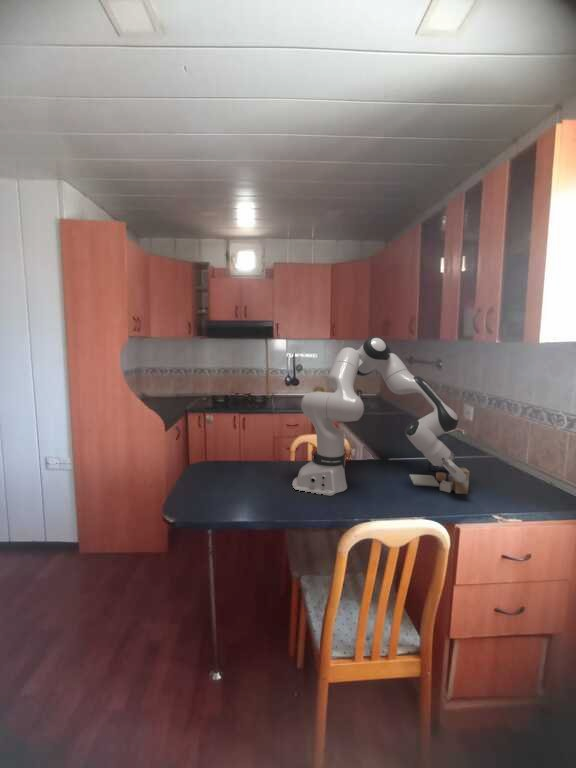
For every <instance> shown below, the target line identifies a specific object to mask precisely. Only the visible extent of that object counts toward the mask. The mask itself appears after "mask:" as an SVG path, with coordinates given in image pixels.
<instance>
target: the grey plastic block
mask: <svg viewBox="0 0 576 768" xmlns="http://www.w3.org/2000/svg"><path fill="white" fill-rule="evenodd" d="M447 481H448V482H452V483H453V476H452V475H451V474H450V473H448V474H447Z"/></svg>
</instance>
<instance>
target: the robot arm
mask: <svg viewBox="0 0 576 768" xmlns="http://www.w3.org/2000/svg"><path fill="white" fill-rule="evenodd" d="M374 369H375V370H377V371H378V372H379V373H380V375H381V376H382V379H383V381H384V382H385V385H386V386H387V388H388V389H389V390H390V391H391V392H392V393H394V394H396V395H408V394H414V393H418V394H419V395H422V397H423V398H425V400H426V401H427V403H429V404H430V406H431V407H432V408H433V411H432V412H430V413H428V414H427V415H425V416H422V417H421V418H420V419H418V420H413V421H412V422H410V423H409V424H408V425H407V426H406V429H405V432H404V433H405V435H406V437H407V439H408V440H409V442H411V444H412V445H413V446H414V447H415V449H416V450H418V451H420V452H421V453H422V454H423V457H425V459H426V460H429V461H430V462H431V463H432V465H434V466H439V467H441V466H443V467H444V468H445V469H446V470H447V471H448V472H449V473H448V472H447V473H448V474H451V475H452V476H453V477H454V478H455V479H456V480H457V481H458V482H460V483H461V482H462V483H463V484H464V485H467V484H470V481H469V482H468V481H467V480H466V478H467V476H466V475H465V474H464V473H463V472H462V471H461V470H460V469H459V468H460V467H459V466H457V465H456V464H455V462H454V463H453V462H452V461H451V460H450V459H451V456H450V455H451V451H450V450H449V449H448V448H447V447H448V446H447V445H445V444H444V443H443V441H441V440H439V439H438V437H440V436H442V435H443V434H445V433H448V432H451V431H453V430H456V429H457V427H458V424H459V417H458V414H457V413H456V412H455V411H454V409H453V408H452V407H450V406H449V405H448V404H447V403H446V402H445V401H444V400H443V399H442V398H441V397H440V395H439V394H438V393H437V392H436V391H435V390H434V389H433V387H431V386H430V385H429V384H428V382H427V381H426V380H425V379H424V378H422V377H421V376H417V375H416V376H415V375H413V374H412V373H411V372H410V371H409V369H408V368H407V366H406V364H404V362H403V361H402V359H401V358H400V357H399V356H398V355H397V354H395V353H393V352H391V349H390V347H389V346H388V344H387V342H386V341H385V340H384V339H383V338H381V337H380V336H375V335H374V336H370V337H369V338H367V339H366V340H364V342H363V344H362V345H361V346H360V347H359V348H358V349H355V348H354V347H349V346H348V347H343V348H342V349H341V350H339V352H338V353H337V355H336V357H335V358H334V360H333V363H332V365H331V368H330V371H329V373H328V375H327V384H328V387H329V388H331V390H333V391H334V392H329V391H318V390H317V391H311V392H306V393H305V394H304V395H303V396H302V398H301V402H300V408H301V412H302V413H303V414H304V415H305V417H307V418H308V419H309V421H310V422H311V423H312V425H313V427H314V430H315V434H316V449H313V450H311V460H310V461H309V462H307V463H306V464H305V465H303V466H302V467H301V468H300V469H299V472H298V474H297V476H296V477H295V478H294V479H293V480H292V486H293V487H292V486H291V487H292V489H293V488H294V489H295V490H299V491H298V492H300V491H305V492H304V493H307V492H311V493H310V494H314V493H316V495H321V494H323V495H322V496H330V497H331V496H334V495H335V494H338V493H341V492H344V491H346V490H347V489H348V483H347V480H346V473H345V467H346V453H345V435H344V433H343V431H342V430H340V429H339V428H338V427H336V425H335V423H334V422H333V421H335V422H336V421H337V422H344V423H345V422H347V423H348V422H356V421H359V420H360V419H361V418H362V416H363V414H364V411H365V405H364V402H363V400H362V398H361V397H360V396H359V395H357V394H356V391H355V389H354V386H355V381H356V378H357V376H360V377H366V376H367V375H369V374H371V373H372V372H373V370H374ZM294 489H293V490H294ZM295 490H294V491H295Z"/></svg>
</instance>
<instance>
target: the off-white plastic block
mask: <svg viewBox="0 0 576 768" xmlns="http://www.w3.org/2000/svg"><path fill="white" fill-rule="evenodd" d="M439 491H442V492H445V493H451V492H452V491H454V490H453V483H452V482H449V481H448V480H446V481H444V480H443V481H442V482H439Z"/></svg>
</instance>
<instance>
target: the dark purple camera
mask: <svg viewBox="0 0 576 768" xmlns="http://www.w3.org/2000/svg"><path fill="white" fill-rule="evenodd" d="M446 447H447V448H448V449H449V450H450V451H451V455H450V456H451V459H450V460H451V461H452V462H453V463H454V464H455V460H456V459H455V458H456V451H455V449H454V447H453V446H449V447H448V446H446ZM427 460H428V459H427ZM427 467H428V470H429V471H430V472H442V473H448V474H450V473H449V472H448V471H447V470H446V469H445V468H444V467H443V466H441V467H439V466H434V465H432V463H431V462H430V461H429V460H428V461H427Z"/></svg>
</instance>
